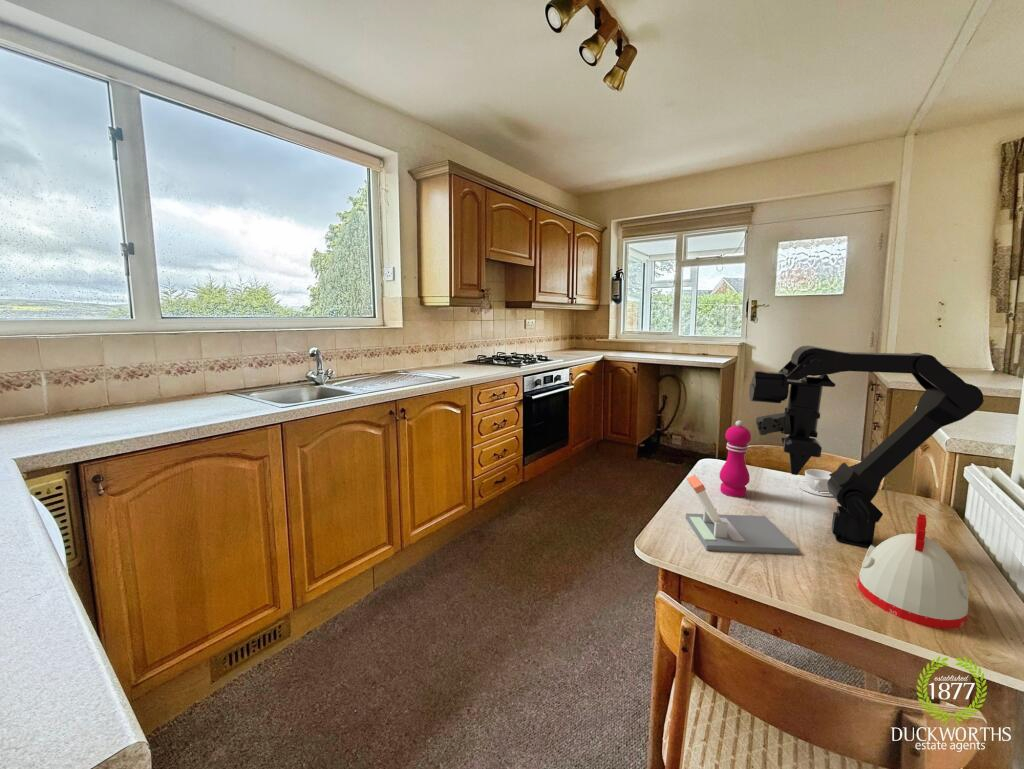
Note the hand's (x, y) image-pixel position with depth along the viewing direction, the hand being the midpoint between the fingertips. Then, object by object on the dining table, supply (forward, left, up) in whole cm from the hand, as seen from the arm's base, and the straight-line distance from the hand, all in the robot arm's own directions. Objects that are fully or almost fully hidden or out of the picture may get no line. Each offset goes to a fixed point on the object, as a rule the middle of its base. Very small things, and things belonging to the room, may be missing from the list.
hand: (794, 474), depth 97 cm
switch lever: (+14, +10, -10) cm, 20 cm away
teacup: (-8, -30, -14) cm, 34 cm away
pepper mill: (+12, -16, -13) cm, 24 cm away
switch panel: (+10, +8, -13) cm, 18 cm away
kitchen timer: (-17, +18, -13) cm, 28 cm away
